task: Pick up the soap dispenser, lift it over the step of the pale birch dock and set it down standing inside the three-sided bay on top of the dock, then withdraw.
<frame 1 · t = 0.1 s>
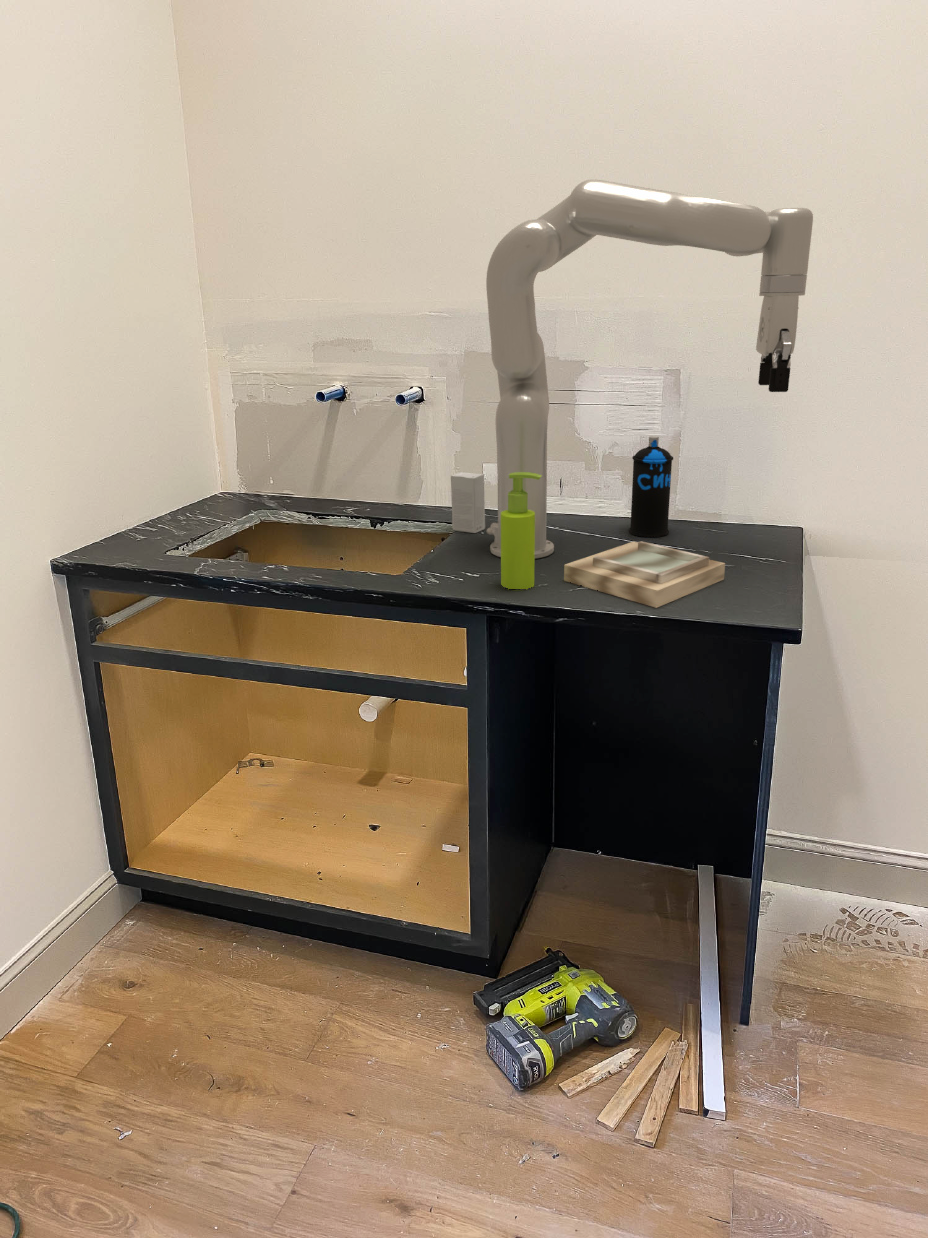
hand: (772, 388, 162), 31 cm above the worktop, tool pointing down, fingers open, 9 cm apart
soap dispenser: (520, 586, 159), on the worktop
skincare box: (468, 530, 194), on the worktop
aerosol can: (648, 533, 189), on the worktop
dock: (643, 580, 160), on the worktop
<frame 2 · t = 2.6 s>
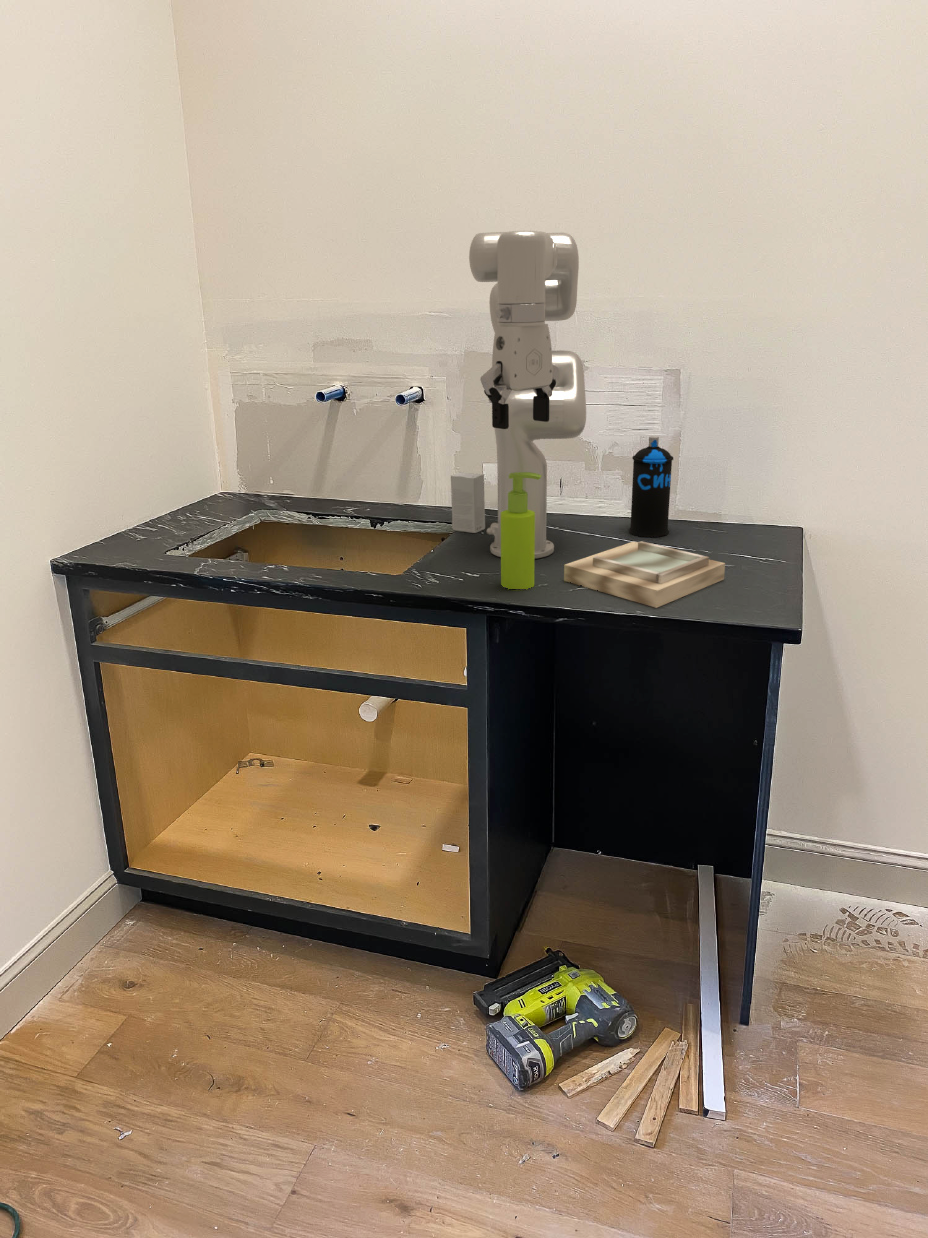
hand: (521, 424, 149), 28 cm above the worktop, tool pointing down, fingers open, 9 cm apart
nothing on the worktop moved.
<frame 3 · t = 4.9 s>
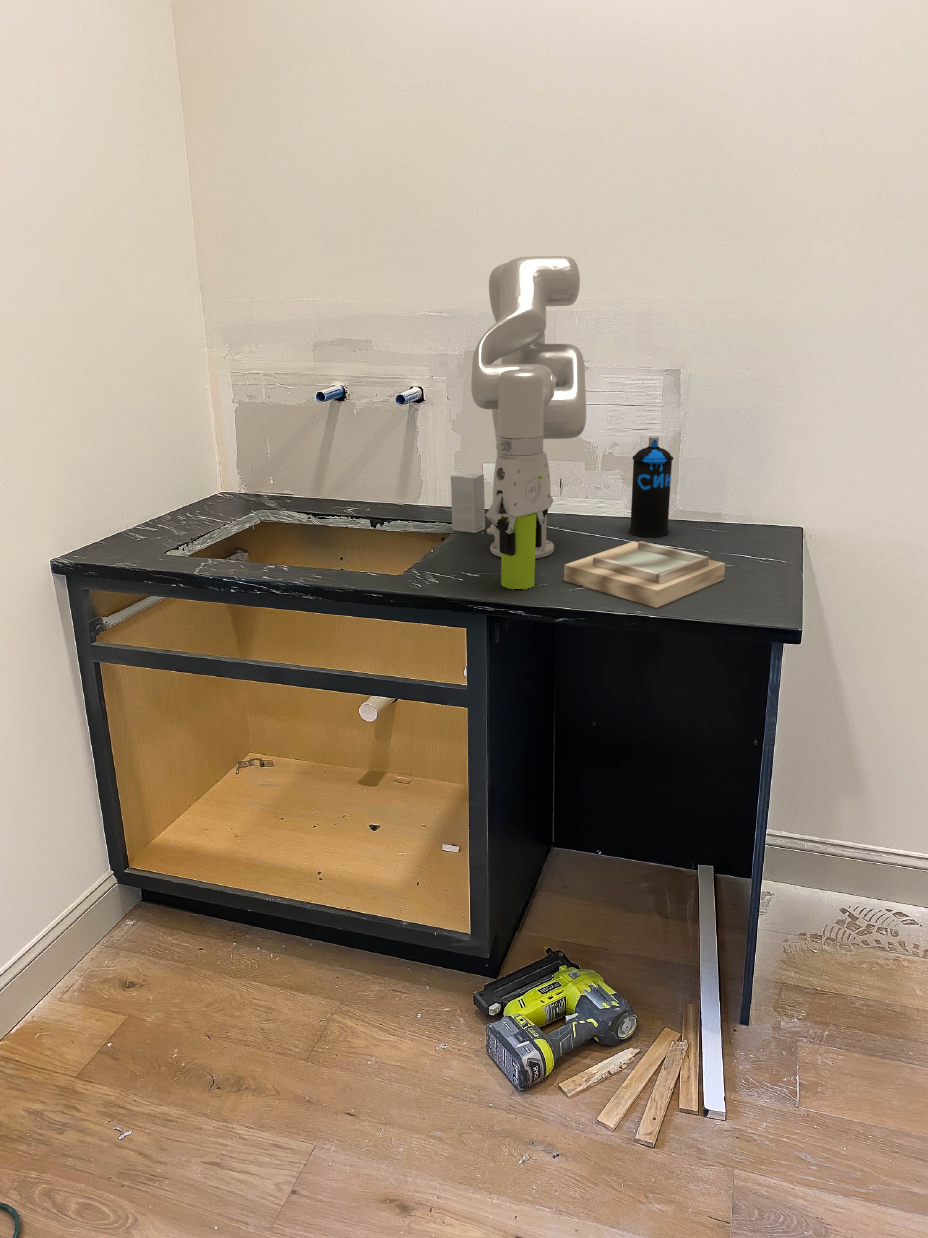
hand: (520, 549, 157), 7 cm above the worktop, tool pointing down, fingers closed on soap dispenser, 5 cm apart
soap dispenser: (520, 585, 159), on the worktop, touching gripper
everything else where it was.
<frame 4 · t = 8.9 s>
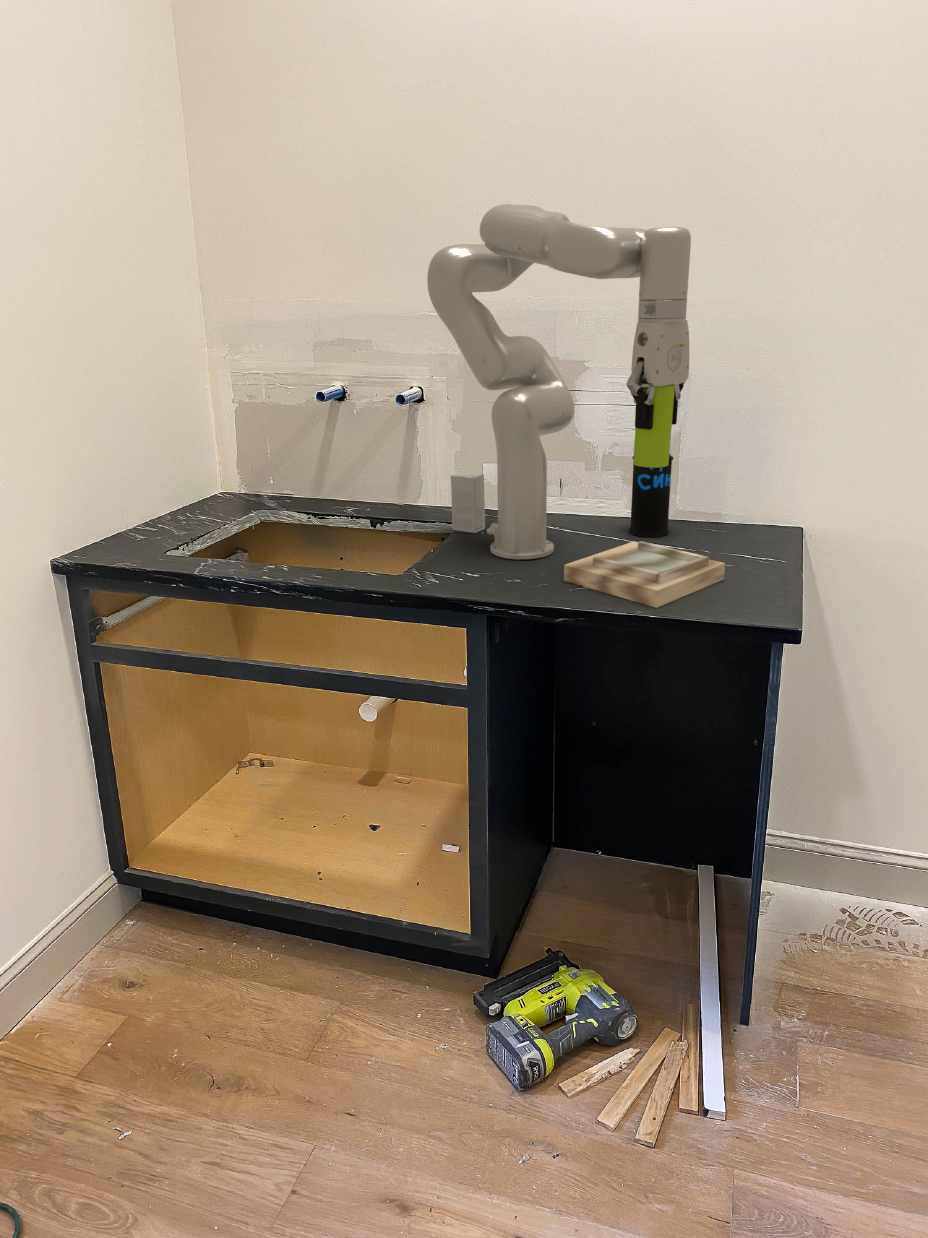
hand: (655, 424, 150), 27 cm above the worktop, tool pointing down, fingers closed on soap dispenser, 5 cm apart
soap dispenser: (653, 465, 152), point 21 cm above the worktop, touching gripper
everything else where it was.
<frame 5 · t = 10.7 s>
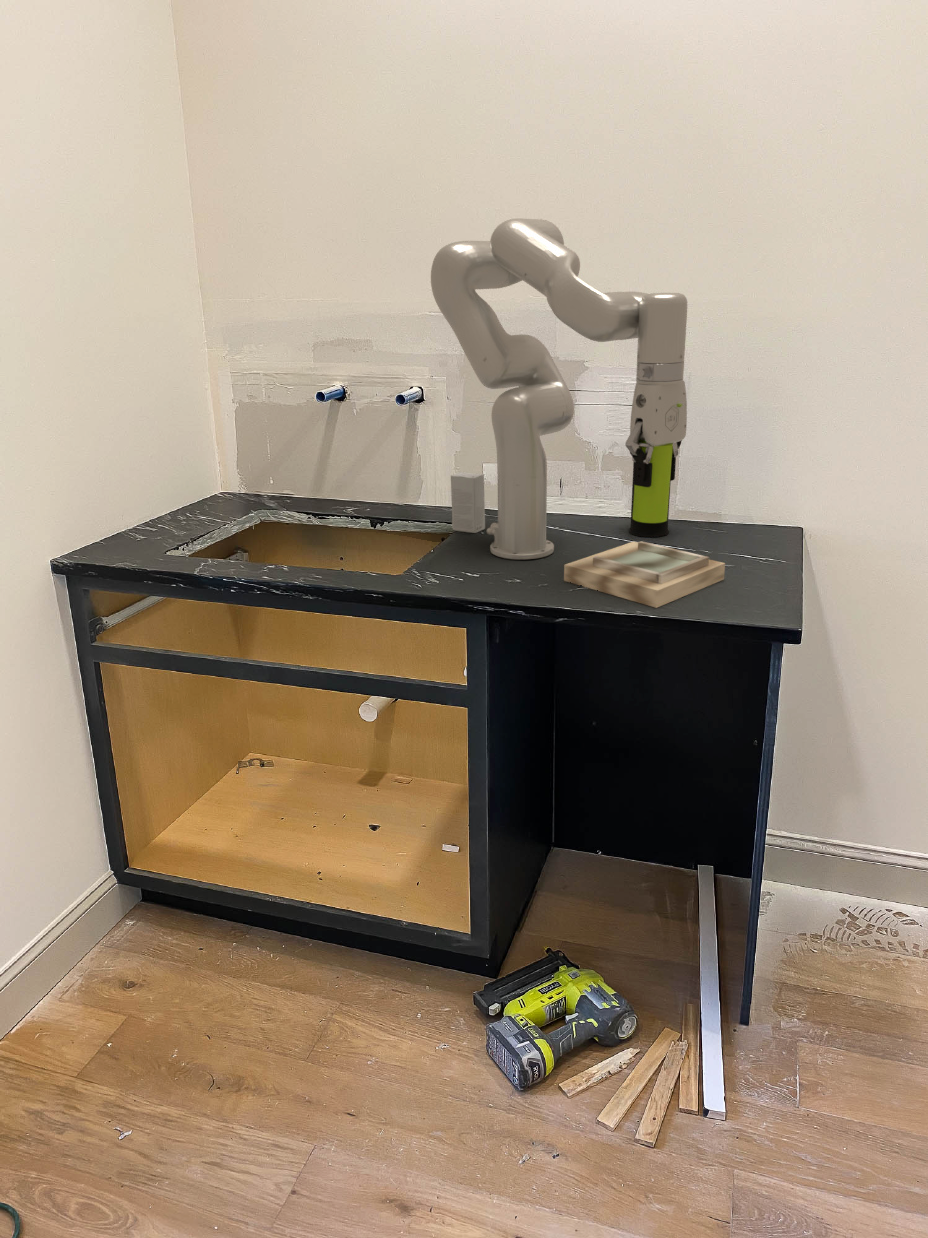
hand: (654, 481, 153), 18 cm above the worktop, tool pointing down, fingers closed on soap dispenser, 5 cm apart
soap dispenser: (652, 520, 156), point 11 cm above the worktop, touching gripper
everything else where it was.
when the fingers open (11 cm above the worktop, at t = 12.5 s): soap dispenser stays where it is, resting on dock.
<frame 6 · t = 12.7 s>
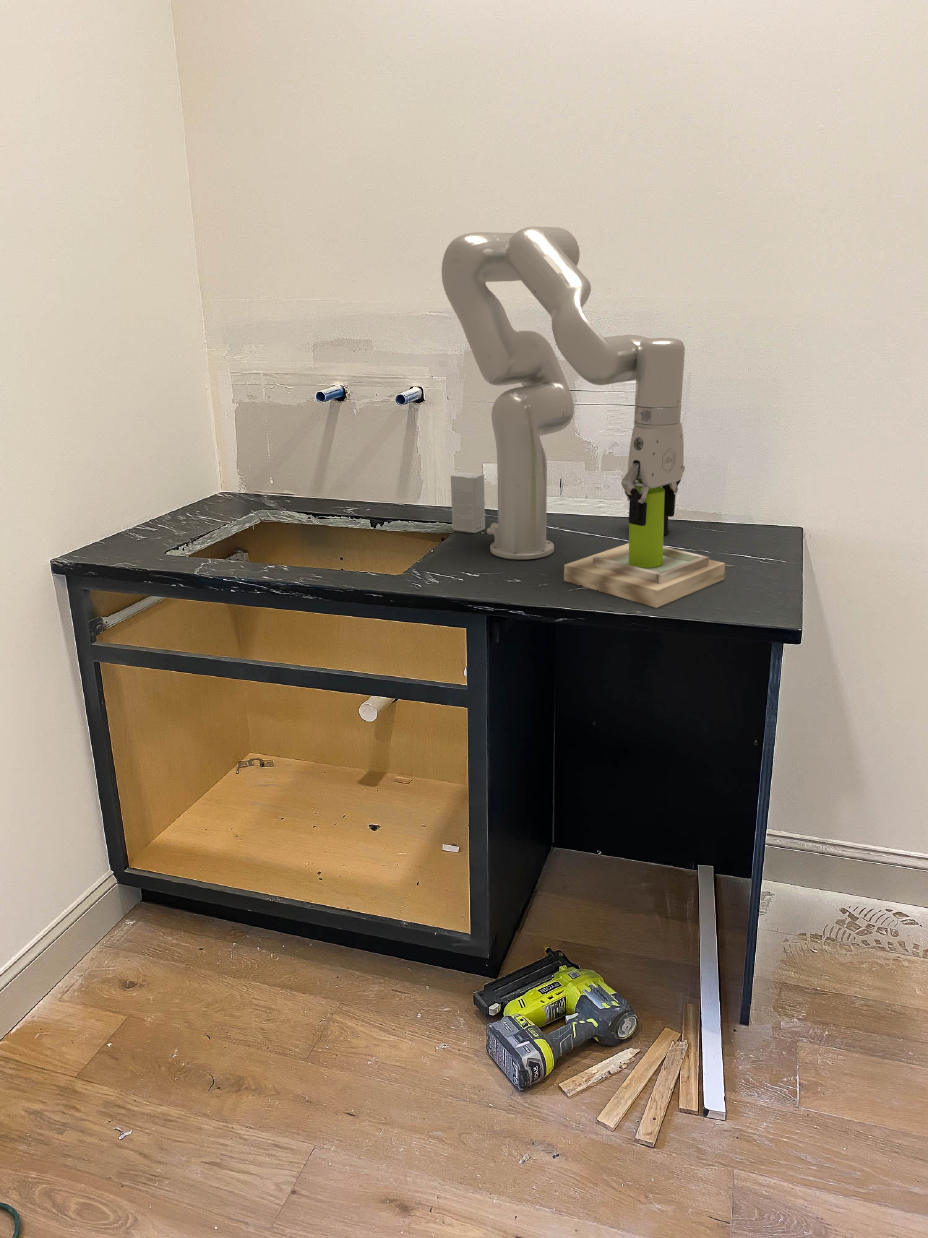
hand: (651, 519, 155), 11 cm above the worktop, tool pointing down, fingers open, 7 cm apart
soap dispenser: (648, 564, 159), point 3 cm above the worktop, touching dock
everything else where it was.
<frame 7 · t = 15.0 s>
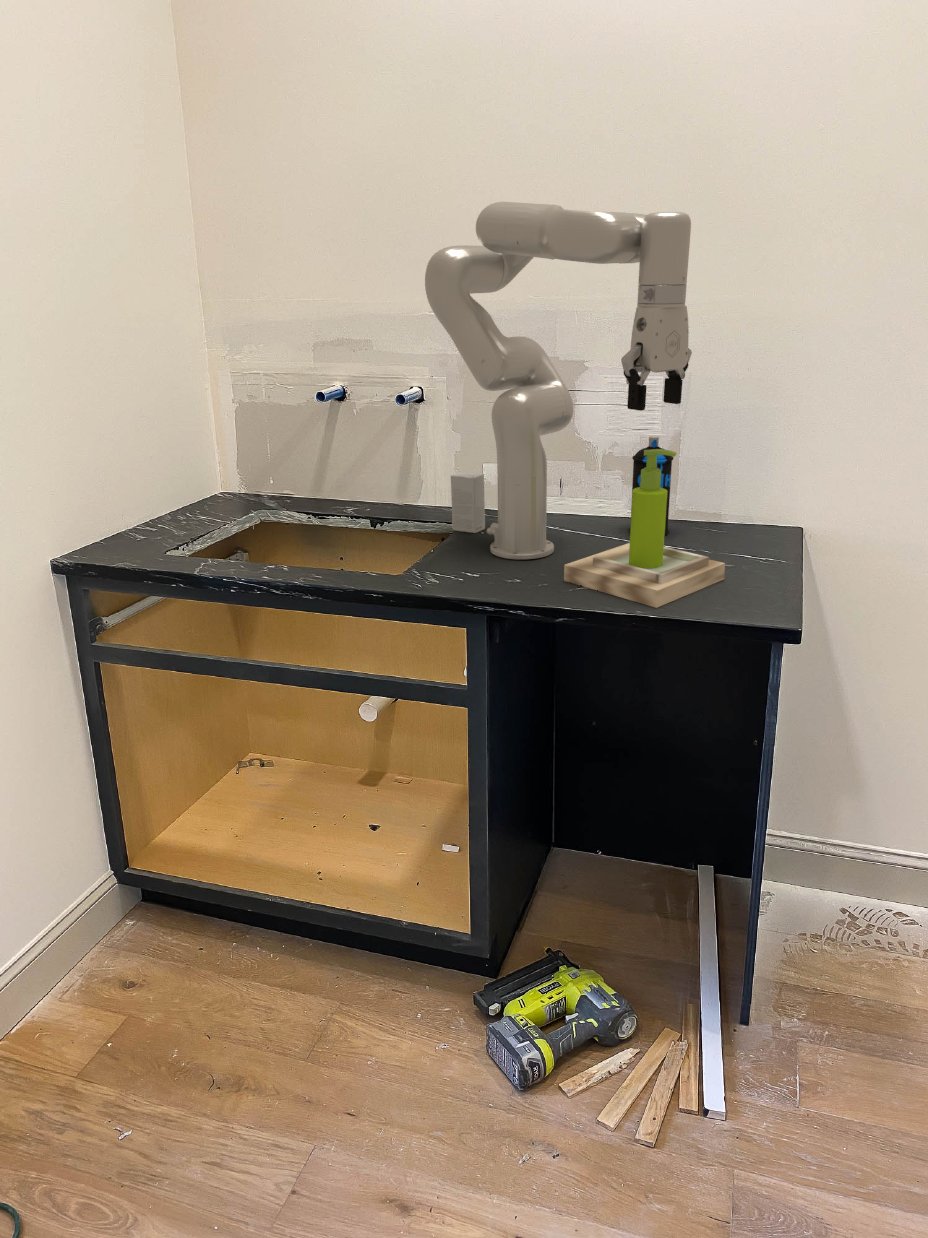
hand: (654, 406, 150), 30 cm above the worktop, tool pointing down, fingers open, 9 cm apart
nothing on the worktop moved.
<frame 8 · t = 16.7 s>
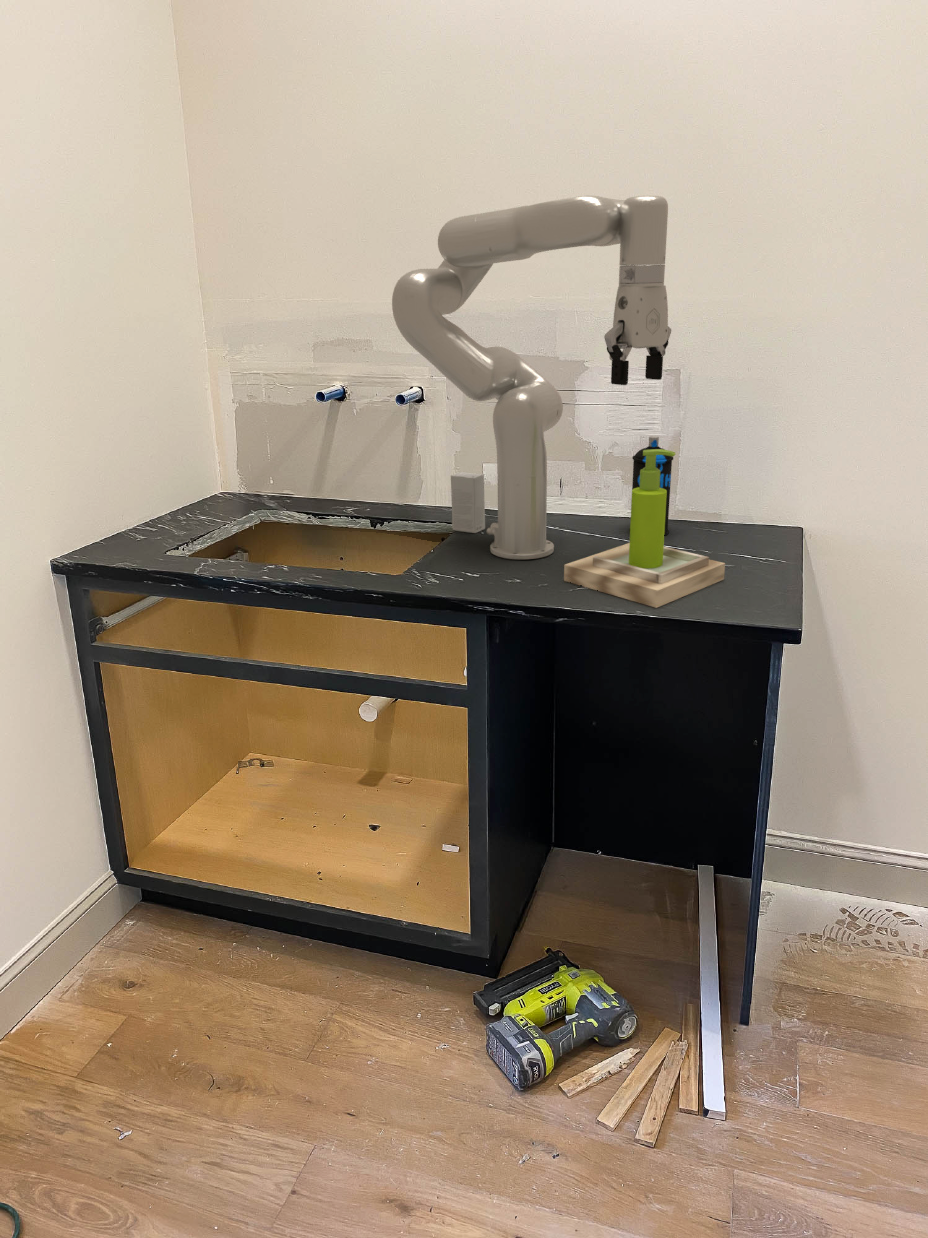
hand: (636, 381, 158), 33 cm above the worktop, tool pointing down, fingers open, 9 cm apart
nothing on the worktop moved.
at the end: soap dispenser inside the target area on the dock (0.5 cm from its centre), point 3.0 cm above the dock's base; soap dispenser tilted 0°; the gripper is holding nothing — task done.
